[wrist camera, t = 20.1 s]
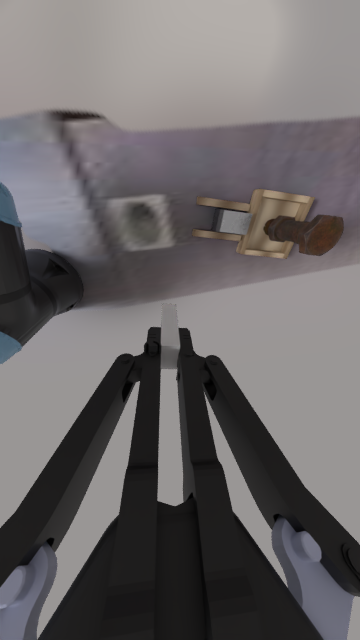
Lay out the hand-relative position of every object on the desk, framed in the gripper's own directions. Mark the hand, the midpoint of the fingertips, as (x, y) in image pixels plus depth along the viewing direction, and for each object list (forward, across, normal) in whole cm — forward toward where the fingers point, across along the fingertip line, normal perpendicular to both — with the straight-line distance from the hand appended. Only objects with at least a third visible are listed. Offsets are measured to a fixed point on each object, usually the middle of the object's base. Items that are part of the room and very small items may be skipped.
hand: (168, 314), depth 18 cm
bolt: (+24, +22, +9) cm, 34 cm away
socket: (+24, +16, +9) cm, 31 cm away
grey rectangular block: (+24, +12, +9) cm, 29 cm away
